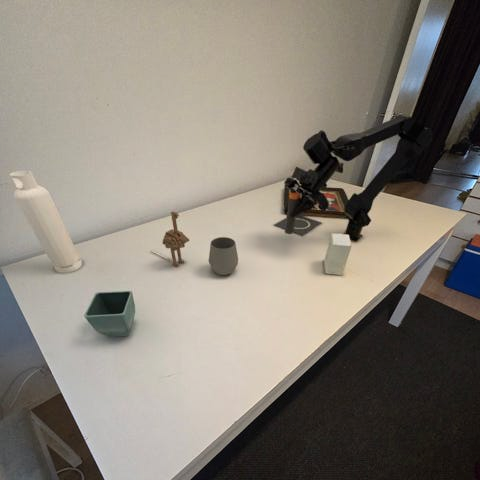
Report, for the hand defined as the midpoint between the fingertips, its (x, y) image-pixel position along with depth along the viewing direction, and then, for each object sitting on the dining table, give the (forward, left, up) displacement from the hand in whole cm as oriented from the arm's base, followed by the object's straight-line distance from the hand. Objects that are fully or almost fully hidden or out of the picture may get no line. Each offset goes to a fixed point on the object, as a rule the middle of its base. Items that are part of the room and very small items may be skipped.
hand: (288, 214), depth 88 cm
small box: (-1, +20, -13) cm, 24 cm away
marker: (-1, +1, -7) cm, 7 cm away
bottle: (+58, -46, -13) cm, 76 cm away
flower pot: (+62, -7, -13) cm, 64 cm away
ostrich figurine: (+33, -25, -13) cm, 44 cm away
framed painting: (-49, -14, -13) cm, 52 cm away
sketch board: (-22, -7, -13) cm, 26 cm away
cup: (+25, -6, -13) cm, 29 cm away
